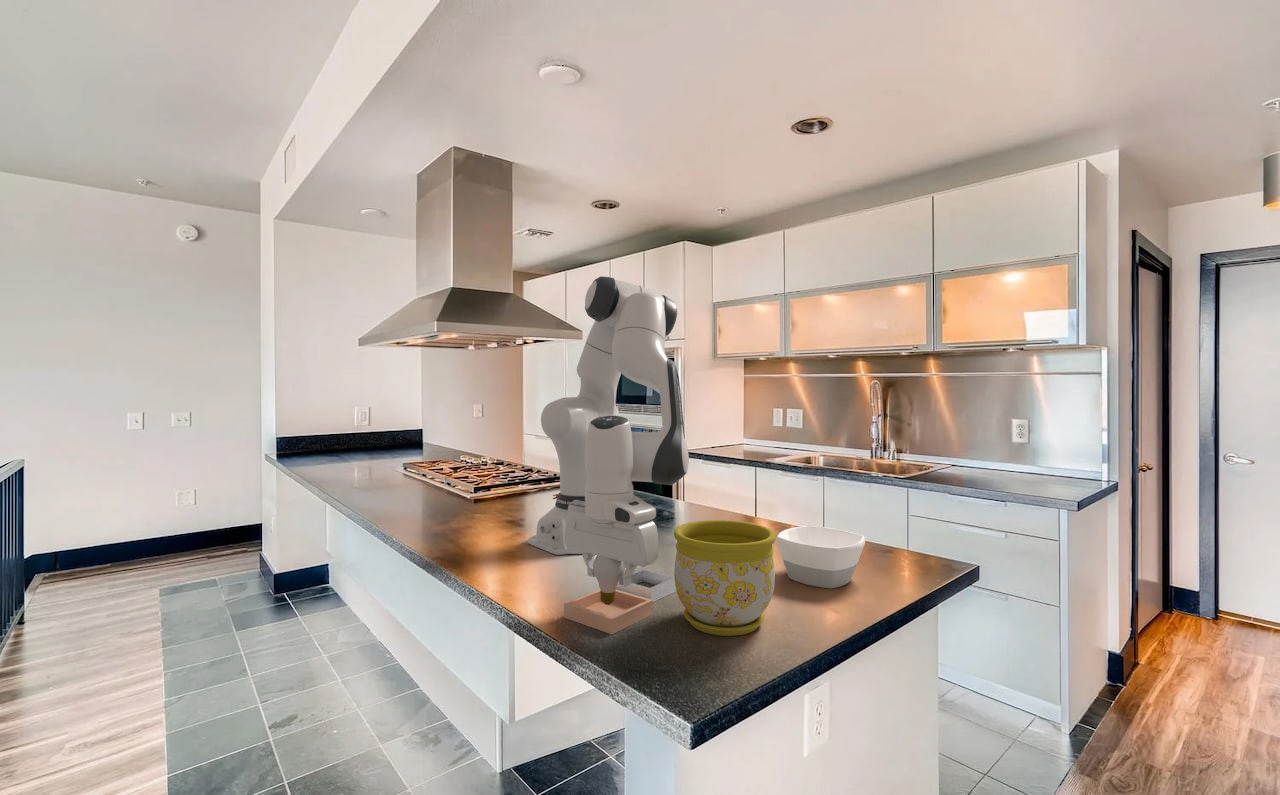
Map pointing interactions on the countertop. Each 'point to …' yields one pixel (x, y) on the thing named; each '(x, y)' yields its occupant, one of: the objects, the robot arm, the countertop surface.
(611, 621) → the tray
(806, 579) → the bowl
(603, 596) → the light bulb
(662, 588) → the socket collar
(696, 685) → the countertop surface
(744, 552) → the flowerpot
